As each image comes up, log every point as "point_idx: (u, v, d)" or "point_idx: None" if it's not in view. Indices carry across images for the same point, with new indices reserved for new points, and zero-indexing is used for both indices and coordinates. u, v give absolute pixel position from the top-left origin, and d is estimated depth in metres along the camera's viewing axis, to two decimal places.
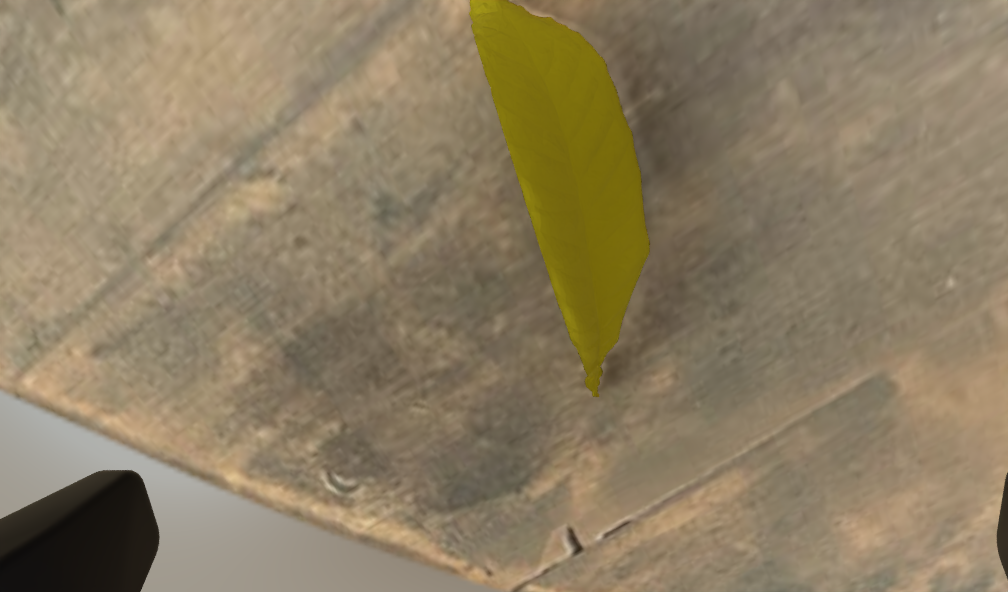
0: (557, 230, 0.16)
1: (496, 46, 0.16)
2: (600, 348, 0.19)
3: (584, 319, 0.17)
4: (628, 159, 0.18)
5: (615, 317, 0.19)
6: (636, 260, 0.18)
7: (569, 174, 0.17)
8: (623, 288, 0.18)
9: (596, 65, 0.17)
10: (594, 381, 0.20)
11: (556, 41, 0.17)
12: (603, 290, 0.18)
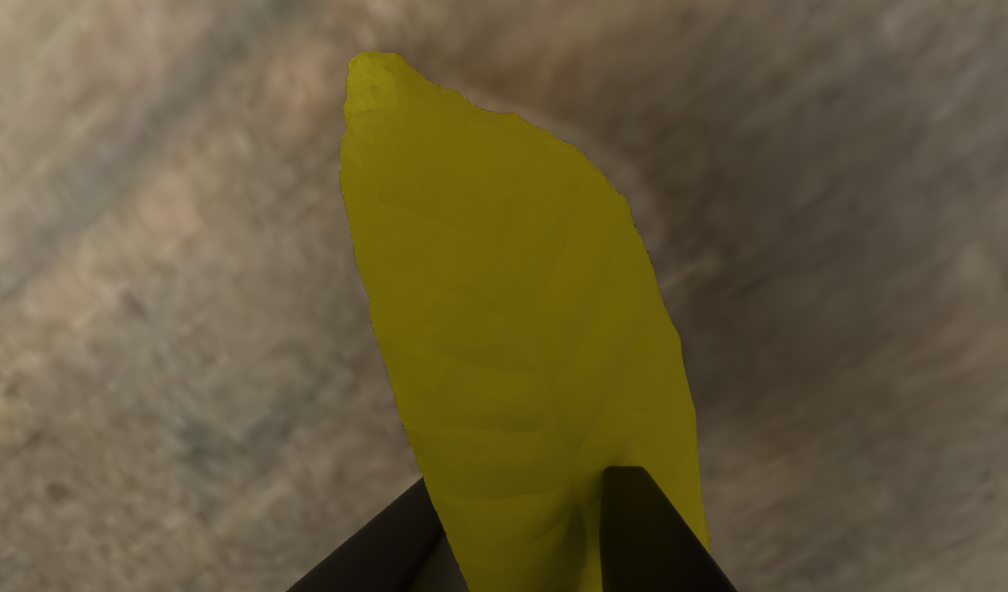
0: (525, 586, 0.07)
1: (387, 192, 0.07)
2: None
3: None
4: (674, 393, 0.09)
5: None
6: None
7: (554, 449, 0.08)
8: None
9: (610, 213, 0.08)
10: None
11: (525, 170, 0.08)
12: None
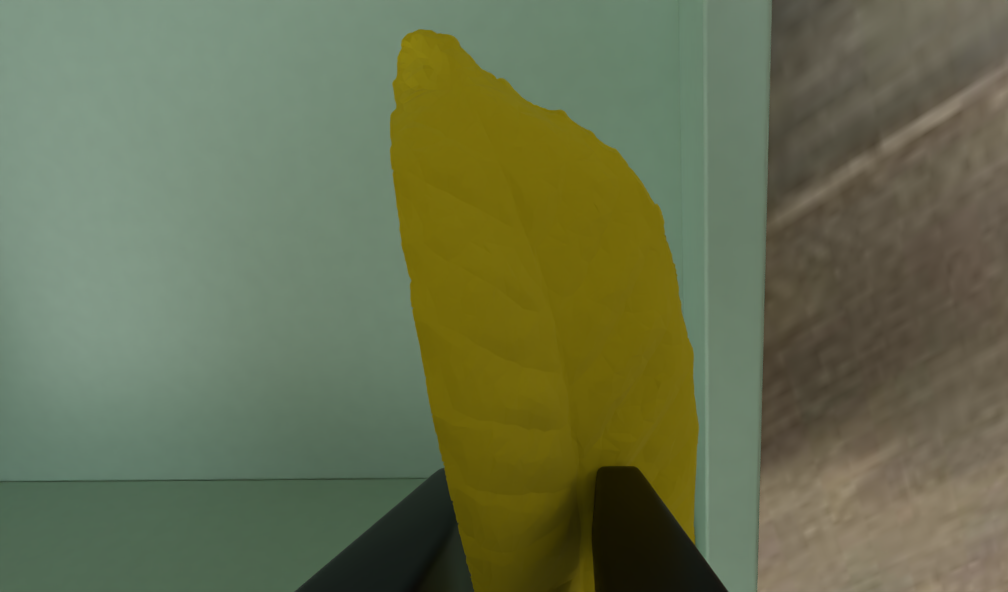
0: (525, 583, 0.07)
1: (436, 175, 0.07)
2: None
3: None
4: (682, 406, 0.09)
5: None
6: None
7: (563, 450, 0.08)
8: None
9: (646, 222, 0.08)
10: None
11: (570, 169, 0.08)
12: None
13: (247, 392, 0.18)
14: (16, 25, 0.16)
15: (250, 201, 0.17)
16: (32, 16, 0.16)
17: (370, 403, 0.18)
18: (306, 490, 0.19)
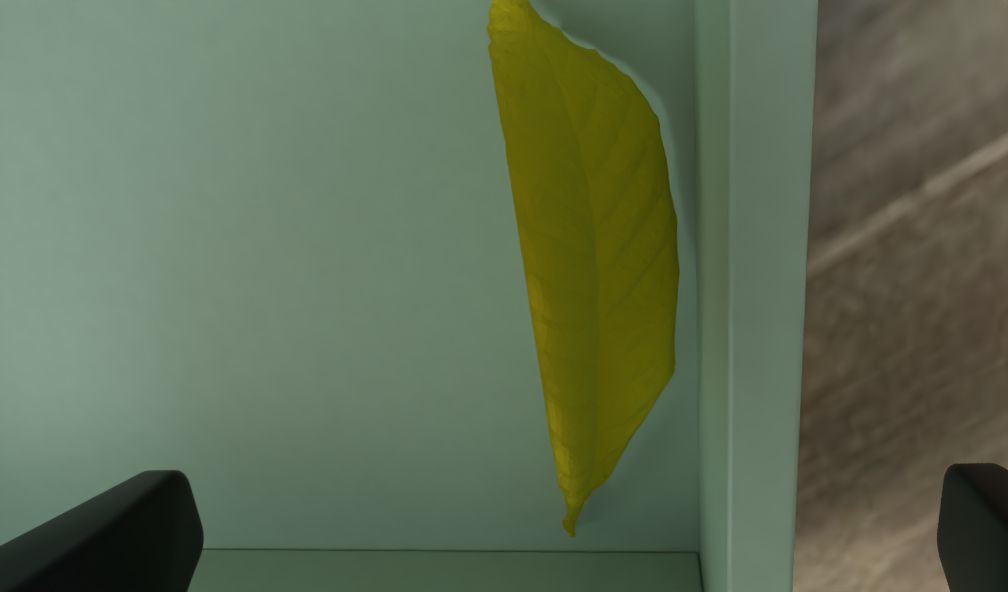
0: (565, 347, 0.12)
1: (519, 82, 0.11)
2: (589, 484, 0.15)
3: (580, 459, 0.13)
4: (669, 254, 0.13)
5: (616, 450, 0.14)
6: (657, 385, 0.14)
7: (591, 269, 0.12)
8: (633, 418, 0.14)
9: (648, 124, 0.12)
10: (573, 520, 0.15)
11: (600, 86, 0.12)
12: (608, 418, 0.14)
13: (208, 456, 0.16)
14: None
15: (207, 246, 0.15)
16: None
17: (344, 469, 0.16)
18: (274, 563, 0.17)
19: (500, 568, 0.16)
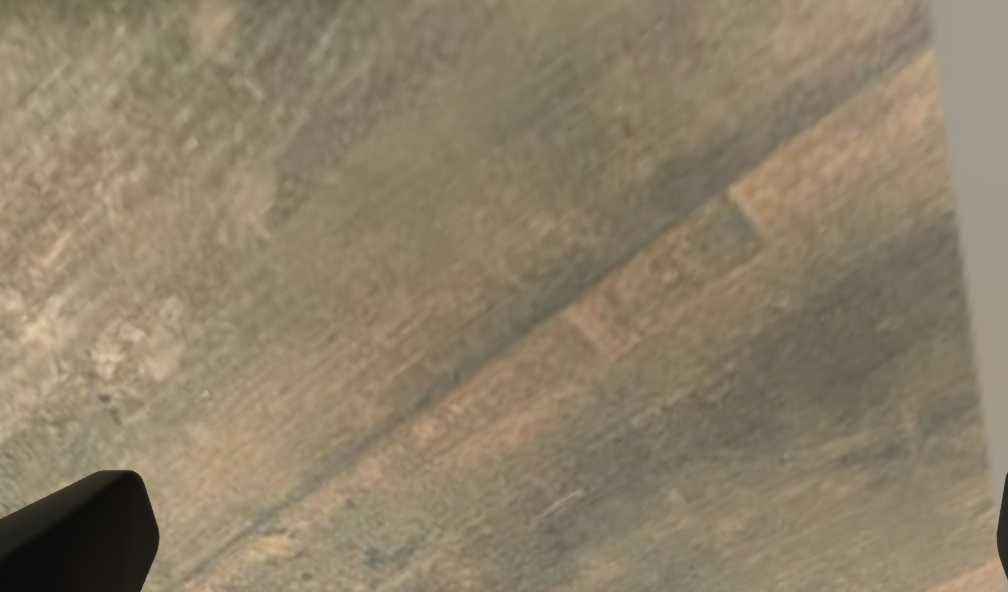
0: None
1: None
2: None
3: None
4: None
5: None
6: None
7: None
8: None
9: None
10: None
11: None
12: None
13: None
14: None
15: None
16: None
17: None
18: None
19: None
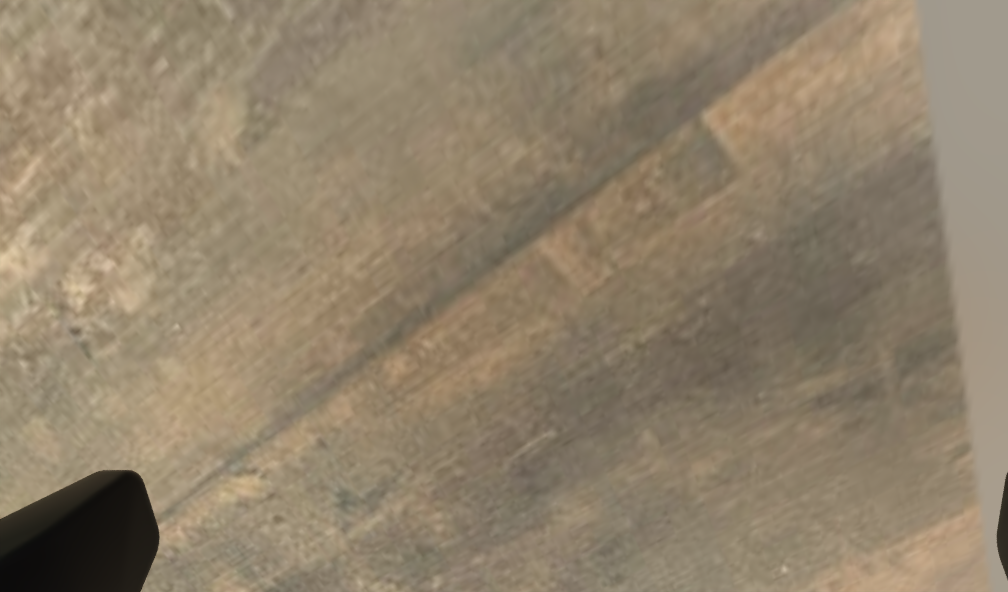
0: None
1: None
2: None
3: None
4: None
5: None
6: None
7: None
8: None
9: None
10: None
11: None
12: None
13: None
14: None
15: None
16: None
17: None
18: None
19: None
